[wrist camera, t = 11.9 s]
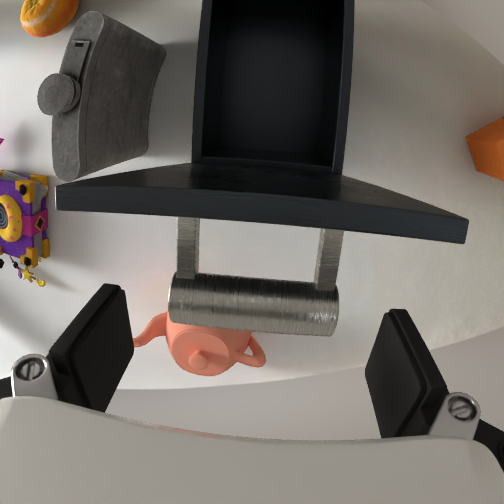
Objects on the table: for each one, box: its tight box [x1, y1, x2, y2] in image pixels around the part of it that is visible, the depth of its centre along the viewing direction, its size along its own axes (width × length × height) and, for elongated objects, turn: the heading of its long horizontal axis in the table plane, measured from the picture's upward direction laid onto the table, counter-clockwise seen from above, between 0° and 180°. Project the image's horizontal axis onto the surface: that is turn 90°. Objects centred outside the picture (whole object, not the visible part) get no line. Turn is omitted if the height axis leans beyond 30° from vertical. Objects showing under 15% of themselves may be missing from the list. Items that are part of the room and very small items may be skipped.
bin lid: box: [55, 163, 469, 336], centre depth 18 cm, size 19×13×5 cm
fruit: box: [21, 0, 79, 37], centre depth 26 cm, size 8×8×8 cm
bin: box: [191, 0, 355, 175], centre depth 28 cm, size 18×13×11 cm
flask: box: [37, 11, 166, 182], centre depth 26 cm, size 4×14×18 cm, turn 168°
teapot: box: [133, 312, 266, 376], centre depth 42 cm, size 12×18×10 cm
